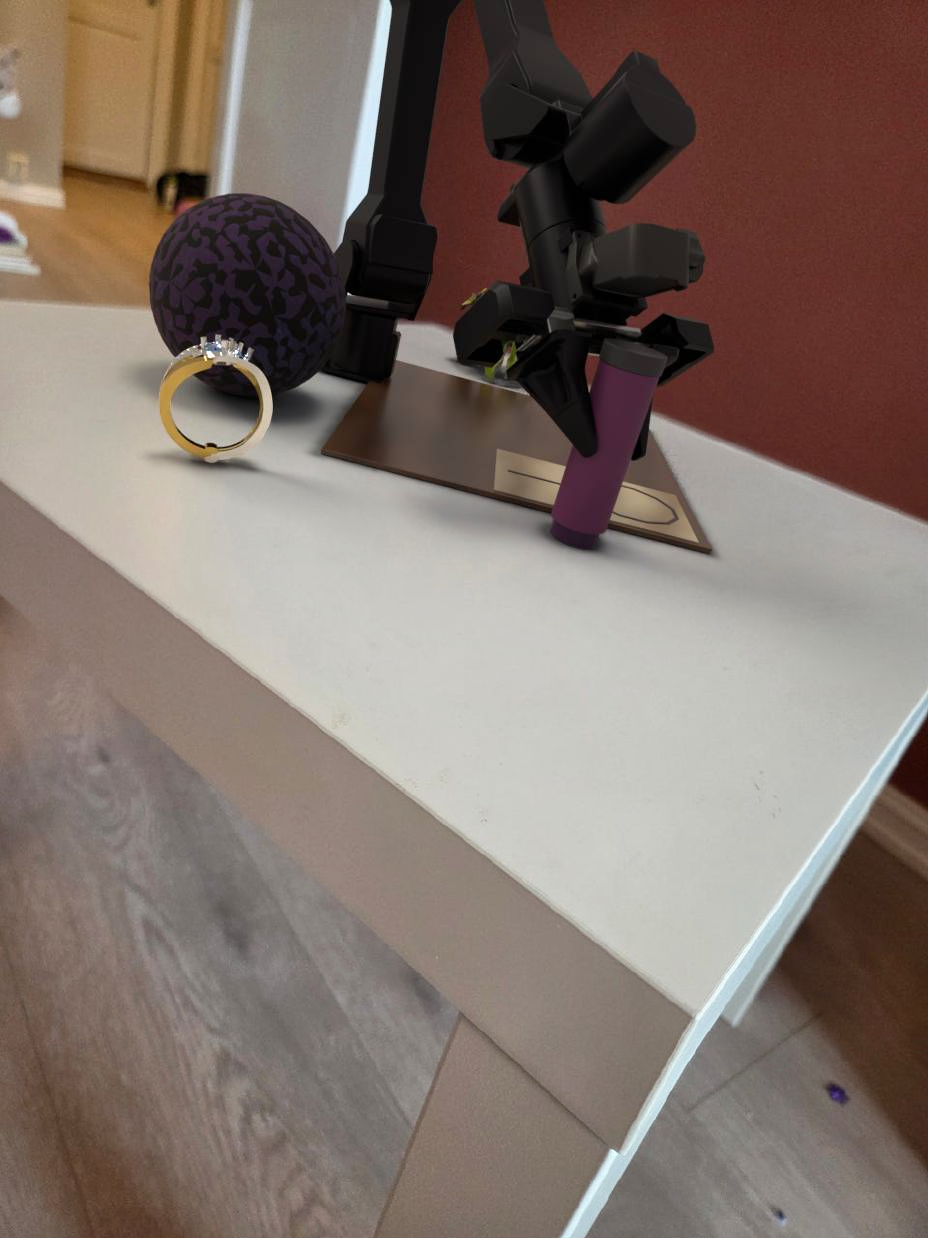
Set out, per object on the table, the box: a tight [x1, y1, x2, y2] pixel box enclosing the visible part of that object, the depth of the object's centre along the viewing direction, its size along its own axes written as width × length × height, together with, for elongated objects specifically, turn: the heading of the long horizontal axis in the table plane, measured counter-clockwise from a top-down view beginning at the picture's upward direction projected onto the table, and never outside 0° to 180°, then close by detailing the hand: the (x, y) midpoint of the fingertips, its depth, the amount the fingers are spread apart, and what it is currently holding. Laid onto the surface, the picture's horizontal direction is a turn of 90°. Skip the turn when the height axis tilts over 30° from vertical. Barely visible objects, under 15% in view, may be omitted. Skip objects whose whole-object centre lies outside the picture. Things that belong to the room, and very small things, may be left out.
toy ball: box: [148, 192, 346, 398], centre depth 69 cm, size 15×15×15 cm
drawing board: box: [320, 359, 713, 555], centre depth 81 cm, size 30×36×1 cm
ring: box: [158, 333, 273, 464], centre depth 56 cm, size 7×3×8 cm, turn 107°
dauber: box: [549, 338, 668, 549], centre depth 59 cm, size 4×4×13 cm
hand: (615, 457), depth 58 cm, fingers closed on dauber, 4 cm apart
